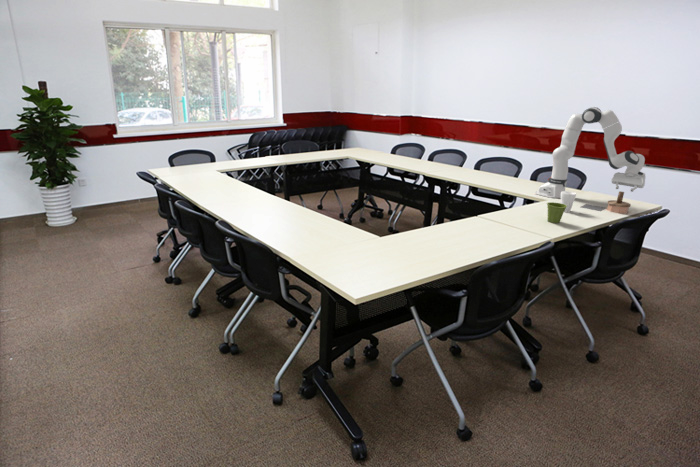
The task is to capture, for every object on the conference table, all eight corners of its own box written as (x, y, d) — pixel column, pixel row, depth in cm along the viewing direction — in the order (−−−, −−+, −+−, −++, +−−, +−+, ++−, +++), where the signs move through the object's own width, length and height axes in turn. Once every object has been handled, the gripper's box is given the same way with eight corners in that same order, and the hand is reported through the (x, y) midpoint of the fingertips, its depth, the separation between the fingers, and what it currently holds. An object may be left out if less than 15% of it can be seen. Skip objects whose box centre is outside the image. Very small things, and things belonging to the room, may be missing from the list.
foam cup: (574, 213, 303) (577, 194, 299) (559, 212, 305) (563, 193, 301) (570, 209, 312) (574, 191, 308) (556, 208, 314) (559, 190, 310)
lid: (604, 204, 310) (607, 191, 307) (610, 200, 319) (613, 188, 316) (627, 208, 301) (630, 195, 298) (632, 204, 310) (635, 192, 307)
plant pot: (549, 224, 277) (552, 207, 273) (540, 219, 288) (543, 202, 284) (567, 224, 278) (571, 207, 274) (557, 219, 289) (560, 202, 285)
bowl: (605, 211, 312) (606, 204, 310) (610, 208, 320) (611, 201, 318) (624, 214, 304) (625, 207, 302) (629, 211, 312) (630, 204, 310)
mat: (579, 207, 318) (579, 207, 318) (586, 204, 328) (586, 203, 328) (600, 211, 309) (600, 211, 309) (606, 208, 319) (606, 207, 318)
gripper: (615, 169, 319) (607, 184, 316) (647, 174, 306) (640, 189, 302) (615, 174, 324) (608, 189, 320) (647, 179, 310) (640, 195, 307)
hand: (624, 189), depth 311 cm, fingers open, 8 cm apart
